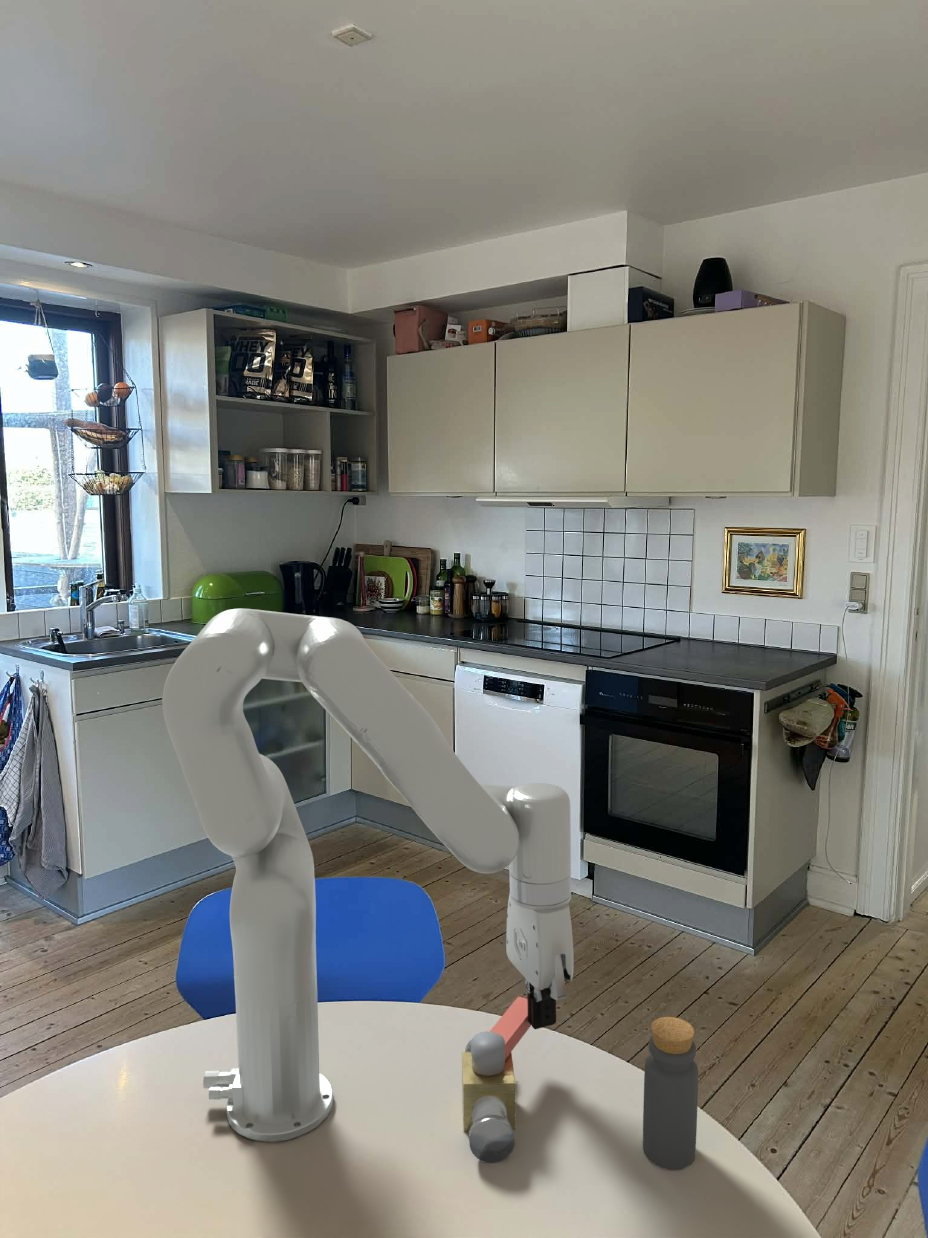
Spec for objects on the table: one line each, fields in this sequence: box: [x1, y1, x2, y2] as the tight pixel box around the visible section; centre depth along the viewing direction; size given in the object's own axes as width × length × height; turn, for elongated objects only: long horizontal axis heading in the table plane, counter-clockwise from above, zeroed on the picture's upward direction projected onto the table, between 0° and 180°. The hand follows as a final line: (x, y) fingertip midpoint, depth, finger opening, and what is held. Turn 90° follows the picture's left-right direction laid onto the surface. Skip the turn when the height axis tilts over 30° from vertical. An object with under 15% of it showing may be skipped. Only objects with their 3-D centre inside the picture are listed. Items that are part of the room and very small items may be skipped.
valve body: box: [461, 1039, 516, 1164], centre depth 109 cm, size 6×16×6 cm, turn 2°
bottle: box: [642, 1016, 699, 1171], centre depth 102 cm, size 6×6×15 cm
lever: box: [470, 996, 532, 1076], centre depth 112 cm, size 14×4×3 cm, turn 153°
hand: (541, 1023), depth 115 cm, fingers closed
